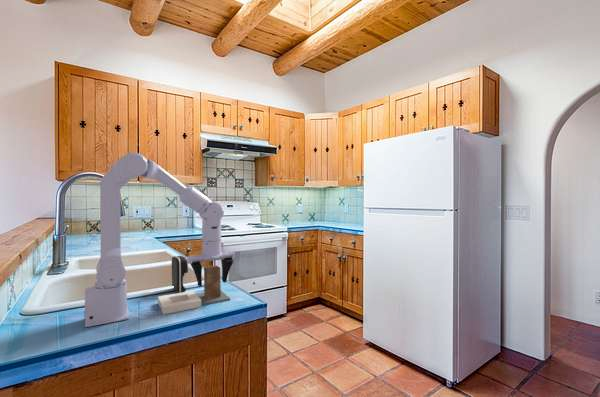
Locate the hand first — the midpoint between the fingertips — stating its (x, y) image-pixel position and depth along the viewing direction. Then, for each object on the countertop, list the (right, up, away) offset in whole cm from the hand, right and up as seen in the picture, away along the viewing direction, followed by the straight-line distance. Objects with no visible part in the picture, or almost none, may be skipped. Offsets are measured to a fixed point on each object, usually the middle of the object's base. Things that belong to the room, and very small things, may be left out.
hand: (212, 283), depth 96 cm
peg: (0, -4, 0) cm, 4 cm away
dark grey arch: (-13, -5, +8) cm, 16 cm away
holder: (-8, -5, -6) cm, 11 cm away
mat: (0, -4, 0) cm, 4 cm away
